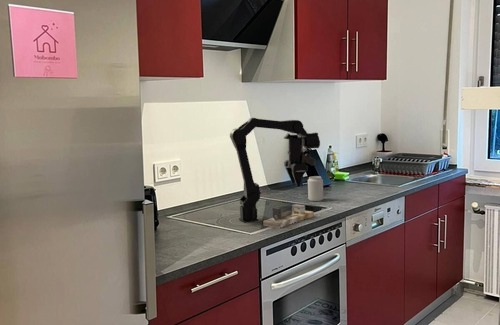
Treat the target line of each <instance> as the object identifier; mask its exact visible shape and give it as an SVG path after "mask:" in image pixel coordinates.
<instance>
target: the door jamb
mask: <svg viewBox="0 0 500 325" xmlns="http://www.w3.org/2000/svg"><path fill="white" fill-rule="evenodd" d="M314 215H315V213H314V211H311V210H305V213H304V214H299V209H298V212H297V213H292V215H290V216H287V217H284V218H281V219H278V220H275V219H274V218H273V217H272V218H269V219H265V220H263V226H264V227H270V228H274V227H276V228H275V229H281V228H283V226H284V227H287V226H289V224H290V225H292V223H293V224H295V223H294V222H296V223H299V222H300V221H301V220H302V221H304V219H305V220H308V219H310V218H313V217H315V216H314ZM307 218H308V219H307ZM298 221H299V222H298ZM286 225H287V226H286ZM280 227H281V228H280Z"/></svg>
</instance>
